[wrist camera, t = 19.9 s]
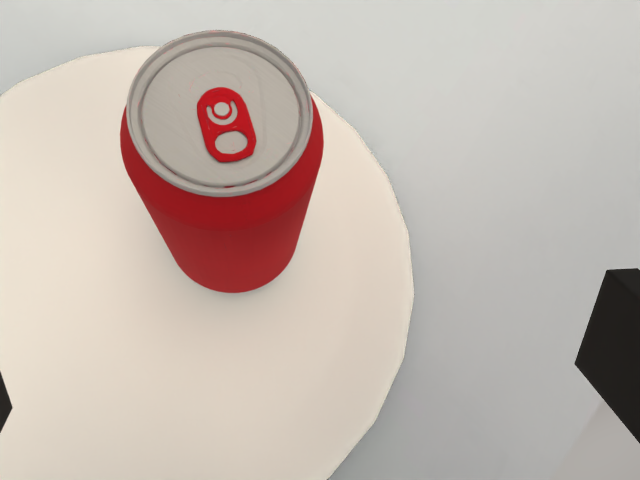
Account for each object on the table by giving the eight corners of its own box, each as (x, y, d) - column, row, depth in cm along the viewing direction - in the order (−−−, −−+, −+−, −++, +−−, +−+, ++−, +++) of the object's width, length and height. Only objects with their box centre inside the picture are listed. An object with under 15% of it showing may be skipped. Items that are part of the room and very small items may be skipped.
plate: (56, -7, 30) (48, -23, 29) (461, 153, 31) (469, 143, 29) (-237, 430, 22) (-264, 432, 21) (313, 637, 23) (317, 650, 22)
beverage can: (277, 164, 27) (297, -2, 16) (312, 276, 26) (361, 181, 15) (156, 192, 26) (85, 33, 15) (185, 311, 25) (131, 237, 13)
